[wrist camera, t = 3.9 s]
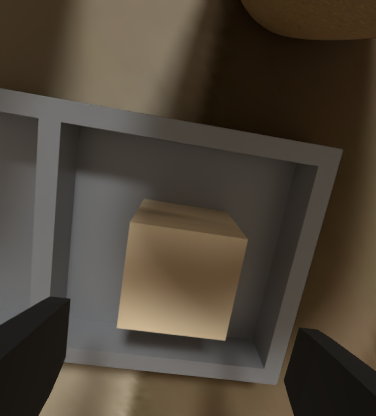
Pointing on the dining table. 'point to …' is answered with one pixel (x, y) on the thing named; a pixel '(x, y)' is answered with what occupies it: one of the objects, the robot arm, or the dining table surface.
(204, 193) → the tray
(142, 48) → the dining table surface
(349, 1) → the plant pot
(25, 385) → the robot arm
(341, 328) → the dining table surface
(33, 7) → the dining table surface
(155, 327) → the maple cube
